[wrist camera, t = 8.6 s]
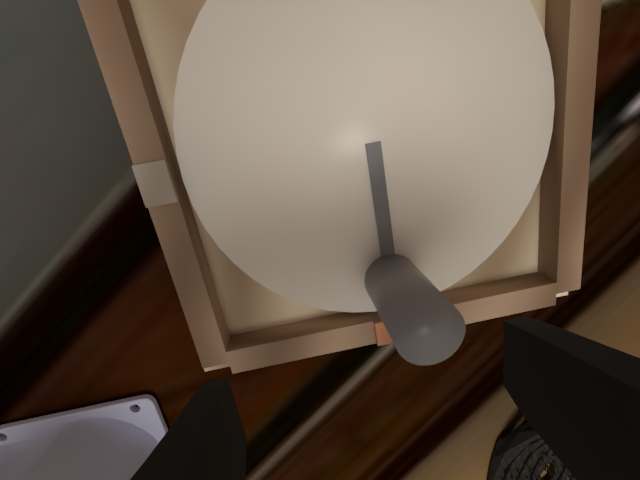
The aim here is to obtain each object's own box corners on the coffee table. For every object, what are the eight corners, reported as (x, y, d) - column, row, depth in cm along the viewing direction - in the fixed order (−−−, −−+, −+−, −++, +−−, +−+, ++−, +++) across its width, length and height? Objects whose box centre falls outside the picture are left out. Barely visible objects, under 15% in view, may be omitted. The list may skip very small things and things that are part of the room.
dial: (123, -39, 12) (3, -164, 7) (540, -113, 13) (718, -278, 7) (236, 331, 17) (216, 421, 12) (535, 266, 17) (640, 324, 12)
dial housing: (210, 353, 19) (197, 394, 16) (69, -79, 13) (7, -139, 10) (547, 282, 20) (592, 309, 17) (564, -156, 14) (640, -232, 11)
